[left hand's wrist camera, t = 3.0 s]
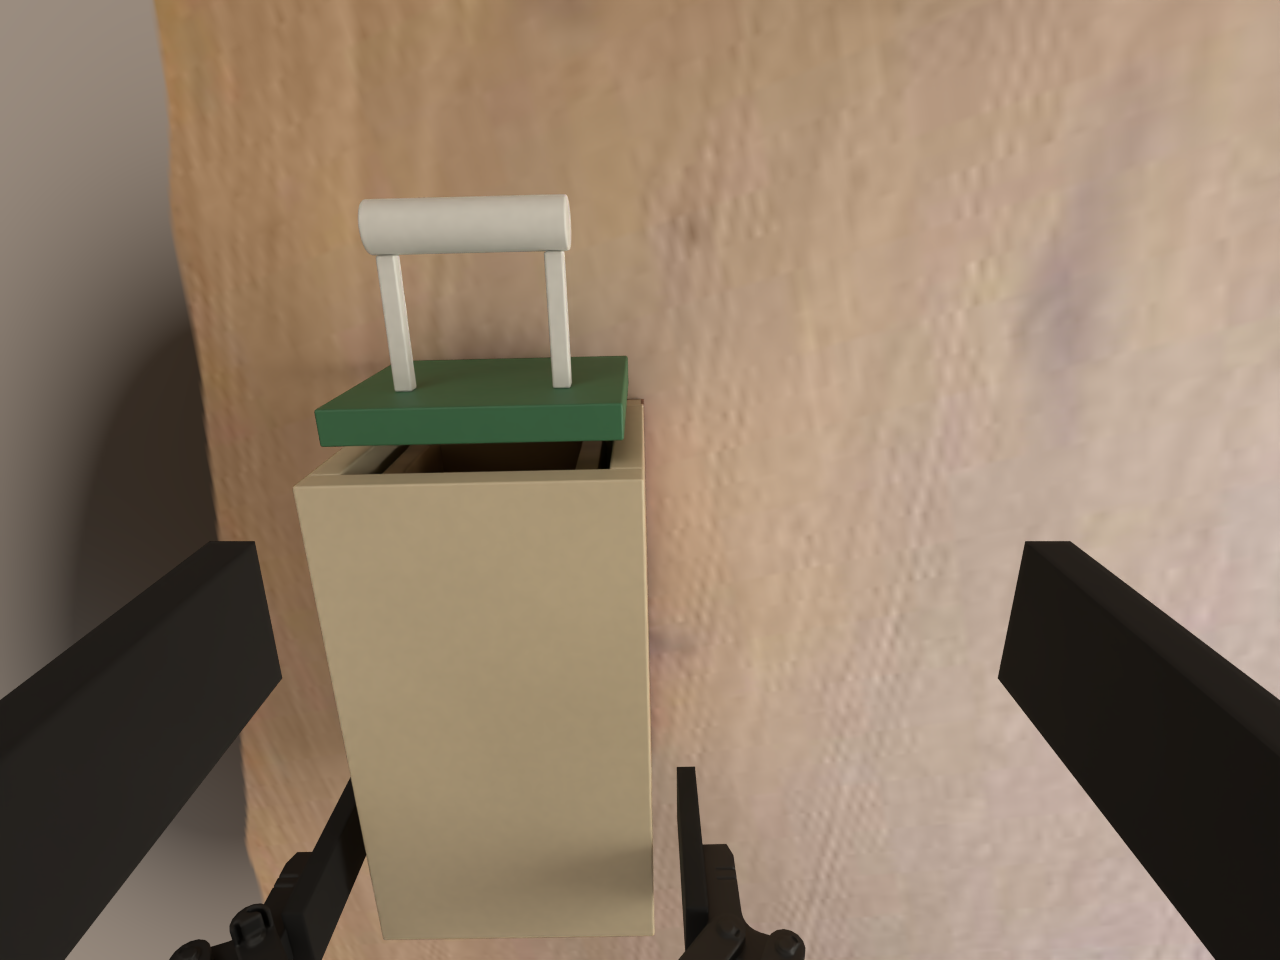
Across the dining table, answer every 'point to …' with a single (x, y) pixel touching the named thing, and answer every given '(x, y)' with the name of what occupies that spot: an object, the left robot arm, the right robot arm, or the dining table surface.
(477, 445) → the drawer
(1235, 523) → the dining table surface
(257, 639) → the left robot arm
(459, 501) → the cabinet
